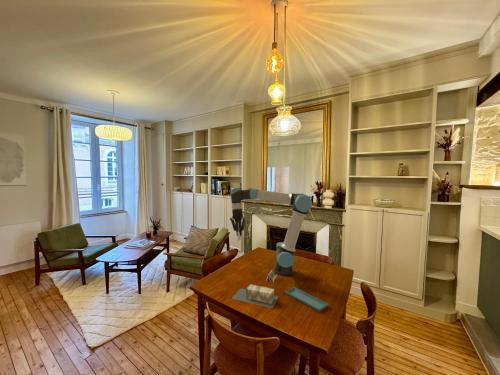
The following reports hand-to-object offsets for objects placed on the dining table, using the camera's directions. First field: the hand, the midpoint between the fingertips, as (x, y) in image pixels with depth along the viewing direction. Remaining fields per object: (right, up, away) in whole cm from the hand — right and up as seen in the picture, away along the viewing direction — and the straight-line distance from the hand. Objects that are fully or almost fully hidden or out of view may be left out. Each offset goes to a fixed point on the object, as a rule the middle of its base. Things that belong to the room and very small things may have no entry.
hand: (239, 240), depth 166 cm
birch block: (+6, -26, -26) cm, 37 cm away
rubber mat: (+11, -30, -28) cm, 42 cm away
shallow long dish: (+42, -31, -29) cm, 59 cm away
